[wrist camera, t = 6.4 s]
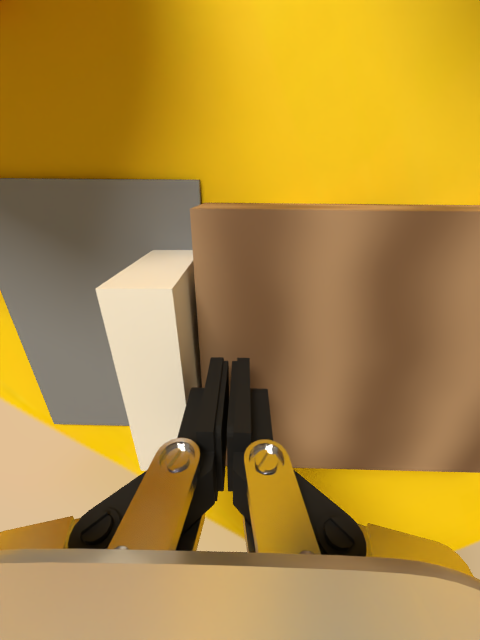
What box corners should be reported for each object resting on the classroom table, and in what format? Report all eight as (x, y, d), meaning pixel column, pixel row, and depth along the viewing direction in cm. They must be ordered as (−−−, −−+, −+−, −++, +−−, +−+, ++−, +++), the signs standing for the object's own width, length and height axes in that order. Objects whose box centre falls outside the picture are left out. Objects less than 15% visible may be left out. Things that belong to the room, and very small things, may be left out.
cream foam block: (171, 288, 9) (95, 288, 9) (193, 471, 13) (140, 470, 13) (200, 250, 14) (152, 250, 14) (209, 386, 18) (172, 386, 18)
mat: (199, 180, 13) (198, 179, 13) (212, 424, 20) (212, 427, 20) (-39, 178, 13) (-45, 177, 13) (56, 420, 20) (54, 423, 20)
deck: (577, 206, 13) (702, 213, 10) (468, 420, 19) (518, 473, 16) (205, 202, 13) (189, 208, 10) (214, 414, 20) (207, 465, 16)
